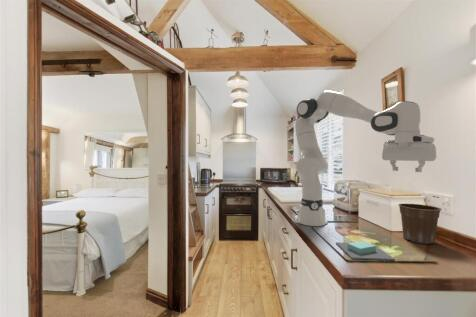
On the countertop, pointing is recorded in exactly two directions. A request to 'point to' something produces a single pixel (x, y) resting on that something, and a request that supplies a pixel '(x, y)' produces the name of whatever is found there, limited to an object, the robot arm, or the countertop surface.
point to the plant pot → (419, 222)
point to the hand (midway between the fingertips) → (406, 171)
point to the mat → (375, 255)
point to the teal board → (361, 247)
